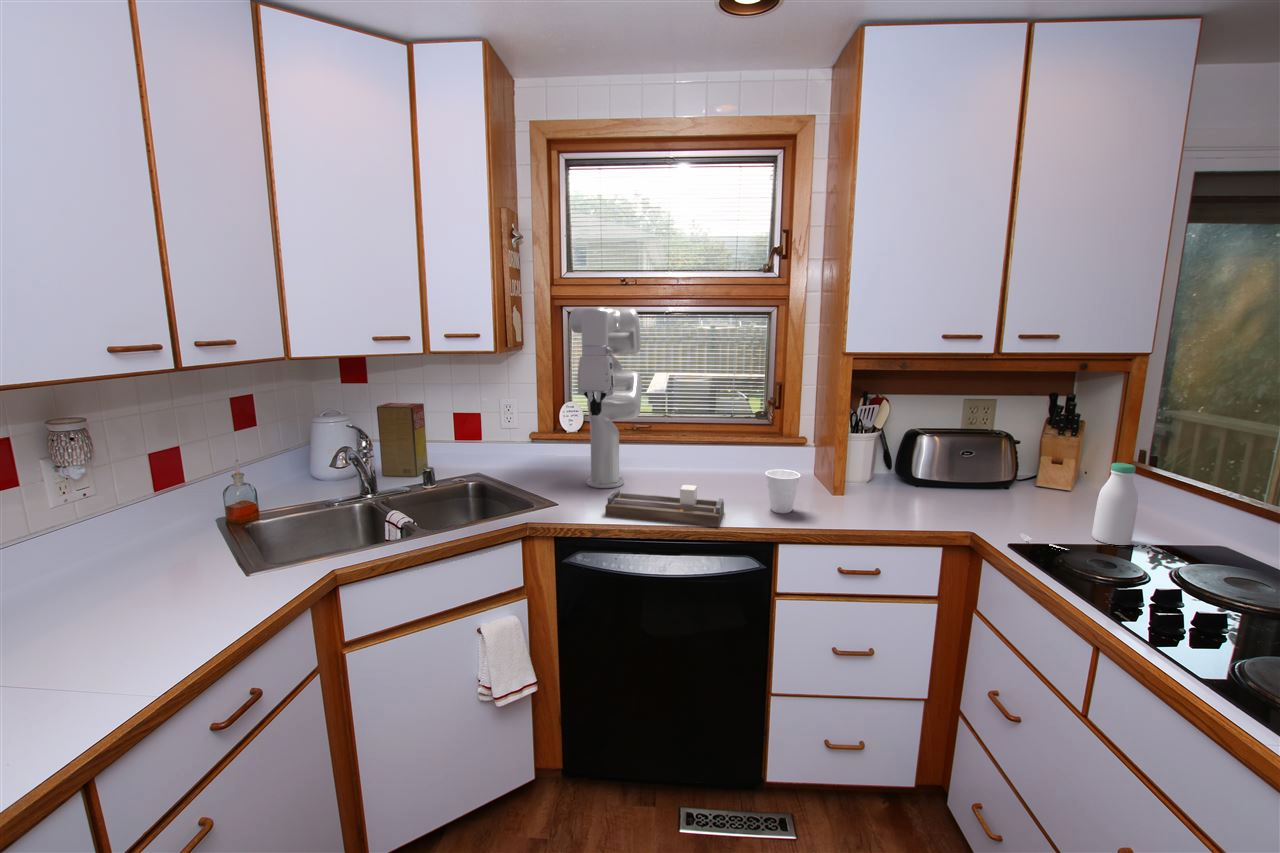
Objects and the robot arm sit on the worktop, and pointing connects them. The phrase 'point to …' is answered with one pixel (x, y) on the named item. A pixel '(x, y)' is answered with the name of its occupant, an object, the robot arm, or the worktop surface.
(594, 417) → the robot arm
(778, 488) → the cup
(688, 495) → the fader tab
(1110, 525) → the milk bottle
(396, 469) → the food packaging
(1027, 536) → the fork
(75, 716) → the worktop surface
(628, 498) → the fader console
